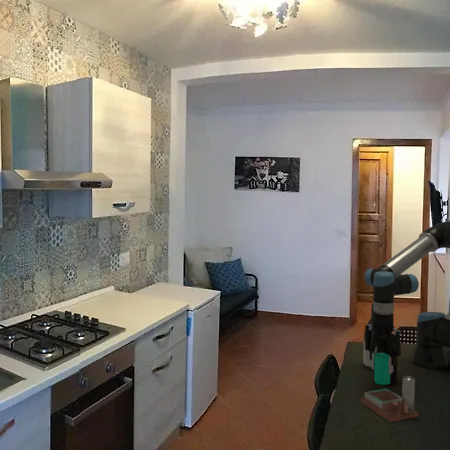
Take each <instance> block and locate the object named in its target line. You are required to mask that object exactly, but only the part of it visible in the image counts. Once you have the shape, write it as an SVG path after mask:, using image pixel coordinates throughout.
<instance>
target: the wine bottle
mask: <svg viewBox="0 0 450 450" xmlns="http://www.w3.org/2000/svg"><path fill="white" fill-rule="evenodd" d="M373 312H374V311H373V299H372V301H371V315H370V319H369V320H368V322H367V323H366V325H368V324H370V325H371V324H373ZM374 334H375V331H374V329H373V327H372V333H371V344H372V341H373V339H374ZM365 341H366V329H365V328H364V332H363V358H362V366H363V368H364V369H366V370H369V371H374V370H375V369H374V370H372V360H370V352H369V351H368V350H366V349H365ZM370 347H371V346H370ZM375 351H376V352H377V345H376V348H375Z"/></svg>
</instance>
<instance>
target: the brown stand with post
mask: <svg viewBox="0 0 450 450" xmlns="http://www.w3.org/2000/svg"><path fill="white" fill-rule="evenodd" d="M415 384H416V378H415V377H414V376H411V375H403V376H402V386H401V388H402V389H401V390H402V391H401V396H400V395H399V394H397V393H395V392H394V391H392V390H390V389H388V388H382V389H377V390H374V389H373V390H369V391H365V392H364V397H363V398H360V403H361V404H363V405H364V406H366V407H367V408H369V409H370V410H371V411H373V412H375V414H377V415H378V416H380V417H382V418H383V419H384V420H385V421H387V422H389V423H394V422H400V421H404V420H409V419H414V418H418V417H419V414H420V413H419V412H418V411H416V410H415V387H416V385H415Z"/></svg>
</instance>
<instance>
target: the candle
mask: <svg viewBox="0 0 450 450" xmlns="http://www.w3.org/2000/svg"><path fill="white" fill-rule="evenodd" d="M389 356H390V355H388V354H386V353H383V352H382V353H377V354H375V370H374V376H373V377H374V383H375V384H378V385H382V386H388V385H387V384H390V374H389Z"/></svg>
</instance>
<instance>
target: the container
mask: <svg viewBox="0 0 450 450" xmlns="http://www.w3.org/2000/svg"><path fill="white" fill-rule="evenodd" d="M391 335H392V341H393V344H394V348H395V335H394V333H393V332H392V333H391ZM382 352H383V353H386V354H388V355H390V351H389V348H388V344H387V340H386V339H385V337H383V336H380V337H379V339H378V342H377V353H382ZM390 356H391V355H390ZM397 383H398V357H396V364H395V365H393V372H392V373H391V374H390V384H387V385H386V386H391V387H392V386H395V385H397Z"/></svg>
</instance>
